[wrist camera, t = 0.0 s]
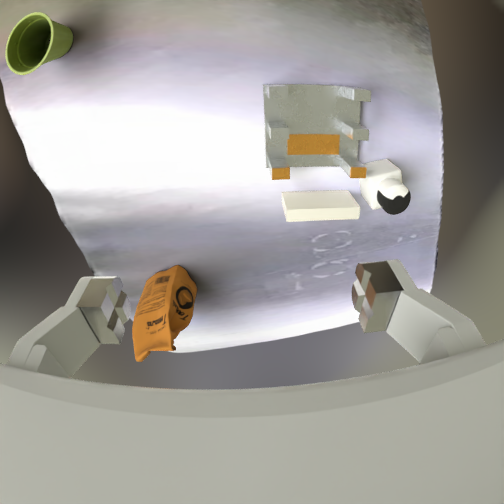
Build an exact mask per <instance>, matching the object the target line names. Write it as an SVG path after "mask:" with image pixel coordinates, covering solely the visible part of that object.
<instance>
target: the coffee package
mask: <svg viewBox="0 0 504 504" xmlns="http://www.w3.org/2000/svg"><path fill="white" fill-rule="evenodd" d="M196 293H197V288H196V284H195V282H193V281H192V279H191V278H190V277H189V275H188V273H187V271H186V270H185V269H183V268H182V267H181V266H179V265H176V266H174V267H172V268H170V269H168V270H166V271H160V272H158V273H156V274H155V275H153V276H152V277H151V278H149V279H148V280H147V281H146V284H145V287H144V290H143V293H142V295H141V297H140V300H139V303H138V306H137V309H136V313H135V316H134V321H133V329H132V333H133V341H134V351H135V358H136V361H138V362H142V361H143V360H144V359H145V358H146V357H147V356H148V355H149V354H150V351H174V350H176V347H175V346H173V344H174V341H173V339H175V338H176V337H177V336H178V334H179V333H180V331H182V330H184V329H185V328H186V327H187V326H188V325H189V323H190V321H191V319H192V317H193V309H194V302H195V297H196Z"/></svg>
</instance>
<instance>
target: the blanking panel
mask: <svg viewBox="0 0 504 504" xmlns="http://www.w3.org/2000/svg"><path fill="white" fill-rule="evenodd" d="M282 205H283V209H284V213H285V217H286V221H287V222H294V221H316V220H342V219H359V213H360V206H359V205H358V203H357V202H356V201H355V199H354V198H353V197H352V195H351V194H350V192H349V191H348V190H326V191H292V192H282Z"/></svg>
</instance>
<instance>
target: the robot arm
mask: <svg viewBox="0 0 504 504" xmlns="http://www.w3.org/2000/svg"><path fill="white" fill-rule="evenodd" d="M355 273H356V276H357V279H356V280H355V281H354V283H353V287H352V301H353V305H354V308H355V309H356V310H357V311H358V312H360V315H359V321H360V324H361V327H362V329H363V332H364V333H368V332H377V331H385V330H386V332H387V333H388V334H389V335H390V336H392V337H393V338H394V339H395V340H396V341H397V342H398V343H399V344H400V345H401V346H403V347H404V348H405V349H406V350H407V351H408V352H409V353H410V354H411V355H412V356H413V357H414V358H416V359H417V360H418V361H419V362H420V363H419V365H416V366H412V367H408V368H403V369H399V370H394V371H389V372H384V373H379V374H374V375H368V376H363V377H357V378H350V379H344V380H337V381H330V382H322V383H314V384H306V385H296V386H285V387H271V388H254V389H221V390H198V389H196V390H195V389H166V388H165V389H164V388H148V387H135V386H124V385H114V384H105V383H98V382H90V381H83V380H76V379H71V377H72V375H73V374H74V373H75V372H76V371H77V370H78V369H79V368H80V366H81V365H82V364H83V363H84V362H85V361H86V360H87V359H88V358H89V356H90V355H91V354H92V353H93V352H94V351H95V350H96V349H97V348H98V347H99V346H100V343H102V344H120V343H121V340H122V337H123V334H124V331H125V329H124V327H123V324H124V323H126V322H127V321H128V319H129V316H130V301H129V298H128V296H127V294H125V293H124V292H123V291H122V287H123V284H122V281H121V279H120V278H119V277H117V276H110V277H83V278H81V279H80V280H79V282H78V283H77V285H76V287H75V289H74V290H73V292H72V294H71V296H70V297H69V299H68V301H67V303H66V305H65V307H61V308H59V309H58V310H56V311H55V312H54V313H53V314H51V315H50V316H49V317H47V318H46V319H45V320H43V321H42V322H41V323H39V324H38V325H37V326H36V327H34V328H33V329H32V330H31V331H29V332H28V333H27V334H25V335H24V336H23V337H22V338H20V340H18V342H17V344H16V346H15V347H14V349H13V351H12V354H11V356H10V358H9V360H8V362H7V364H6V365H5V364H2V363H0V504H504V339H502V340H499V341H496V342H494V343H491V344H488V345H486V344H485V342H484V340H483V338H482V337H481V335H480V333H479V331H478V330H477V328H476V326H475V325H474V323H473V321H472V320H471V319H469V318H468V317H466V316H465V315H463V314H461V313H460V312H458V311H457V310H455V309H454V308H452V307H450V306H449V305H447V304H446V303H444V302H442V301H441V300H439V299H438V298H436V297H434V296H433V295H431V294H429V293H428V292H426V291H425V290H423V289H418V288H417V287H416V285H415V283H414V282H413V280H412V279H411V277H410V275H409V274H408V272H407V271H406V269H405V268H404V266H403V265H402V263H401V262H400V261H399V260H398V259H395V260H386V261H379V262H367V263H358V265H357V267H356V271H355Z"/></svg>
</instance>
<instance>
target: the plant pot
mask: <svg viewBox="0 0 504 504" xmlns="http://www.w3.org/2000/svg"><path fill="white" fill-rule="evenodd" d="M50 37H51V40H50V42H49V39H50ZM48 42H49V44H48ZM72 42H73V34H72V32H71V29H70V28H68V27H66V26H64V25H62V24H59V23H57V22H54V21H52V20H51V19H50V18H49V17H48V16H47V15H46V14H44V13H41V12H35V13H31V14H29V15H27V16H25V17H24V18H23V19H21V20H20V21H19V22H18V23H17V24H16V26H15V27H14V28H13V30H12V32H11V34H10V36H9V38H8V41H7V45H6V53H5V54H6V61H7V64H8V66H9V68H10V70H11V71H12V72H14V73H15V74H19V75H25V74H29V73H31V72H33V71H35V70H36V69H37V68H38V67H39V66H41V65H42V64H44V63H47V62H49V61H52V60H55V59H57V58H60V57H62V56H63V55H64V54H66V53H67V52H68V50H69V49H70V47H71V45H72Z"/></svg>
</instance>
